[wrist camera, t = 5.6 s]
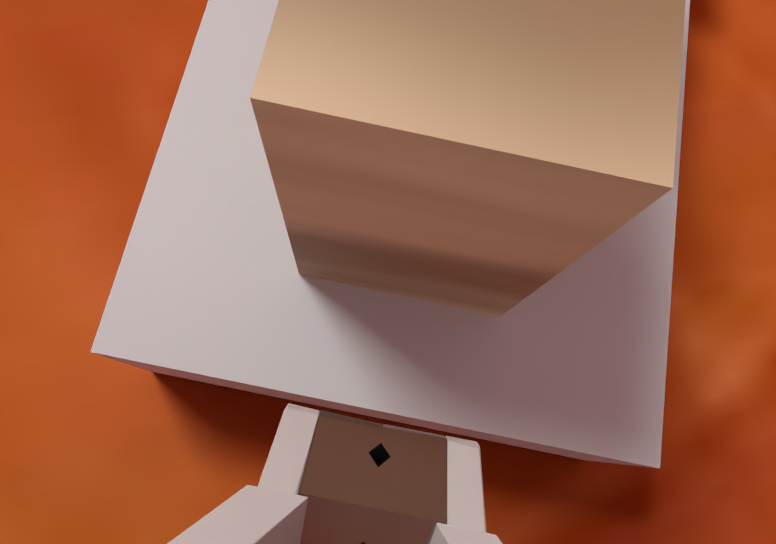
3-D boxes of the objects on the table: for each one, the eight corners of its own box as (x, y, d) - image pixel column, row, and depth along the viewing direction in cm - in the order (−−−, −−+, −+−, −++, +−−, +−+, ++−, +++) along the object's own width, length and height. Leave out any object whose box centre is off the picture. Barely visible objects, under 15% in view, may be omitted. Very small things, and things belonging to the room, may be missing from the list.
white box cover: (584, 460, 16) (660, 468, 12) (151, 371, 16) (89, 351, 12) (631, -15, 21) (697, -119, 17) (291, -90, 20) (279, -212, 16)
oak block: (501, 316, 13) (673, 187, 6) (298, 273, 13) (249, 97, 6) (529, 116, 14) (696, -167, 8) (347, 77, 14) (350, -244, 7)
